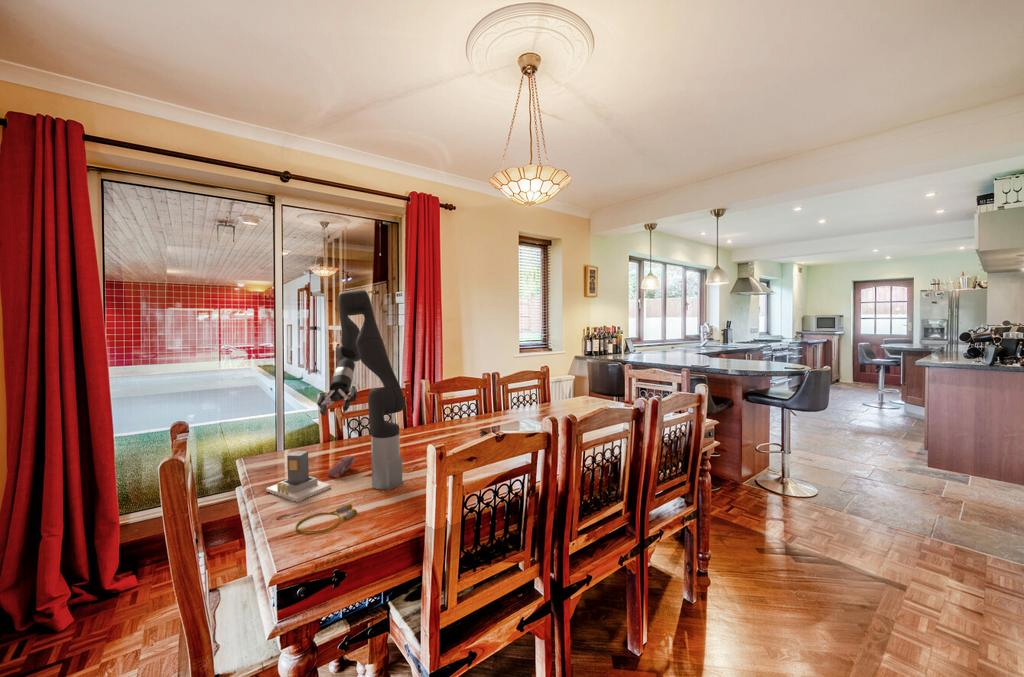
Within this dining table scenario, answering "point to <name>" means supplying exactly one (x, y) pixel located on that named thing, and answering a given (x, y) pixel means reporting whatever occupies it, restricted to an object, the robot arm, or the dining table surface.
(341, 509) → the extension cord
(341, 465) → the purple lumpy piece
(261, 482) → the dining table surface
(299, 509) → the dining table surface
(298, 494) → the board
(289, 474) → the block
